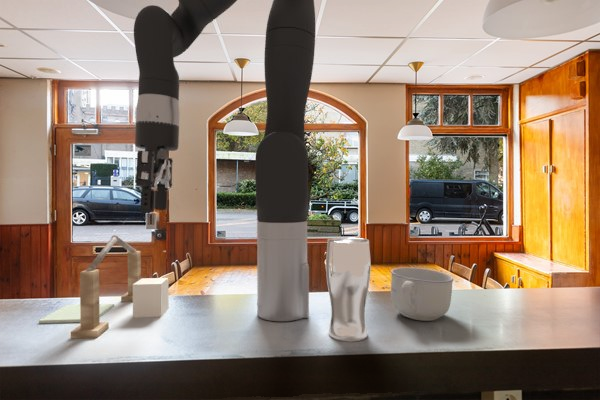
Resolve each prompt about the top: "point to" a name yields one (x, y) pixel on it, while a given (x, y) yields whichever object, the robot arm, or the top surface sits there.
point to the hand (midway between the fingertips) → (154, 210)
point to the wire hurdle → (91, 290)
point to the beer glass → (348, 287)
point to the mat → (71, 314)
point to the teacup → (421, 292)
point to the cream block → (150, 297)
